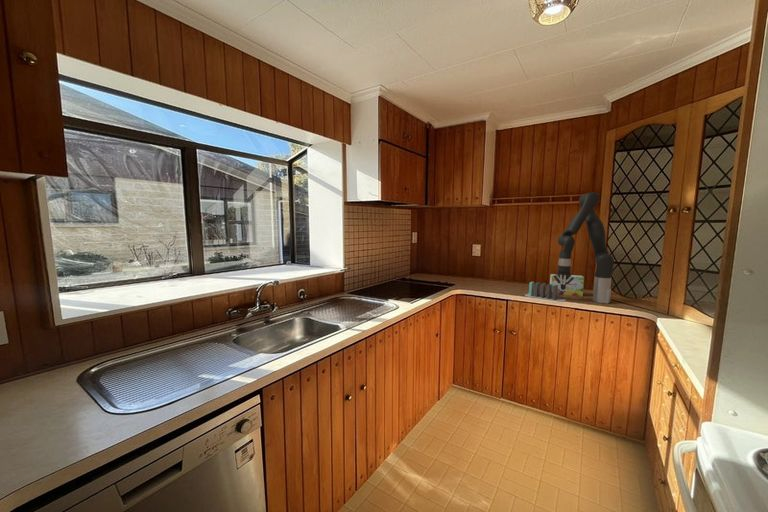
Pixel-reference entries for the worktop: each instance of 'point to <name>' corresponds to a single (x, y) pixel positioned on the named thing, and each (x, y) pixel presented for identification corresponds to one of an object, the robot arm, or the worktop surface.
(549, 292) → the domino
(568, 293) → the snack box
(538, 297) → the mat
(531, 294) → the domino
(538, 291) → the domino
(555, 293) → the domino
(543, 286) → the domino
